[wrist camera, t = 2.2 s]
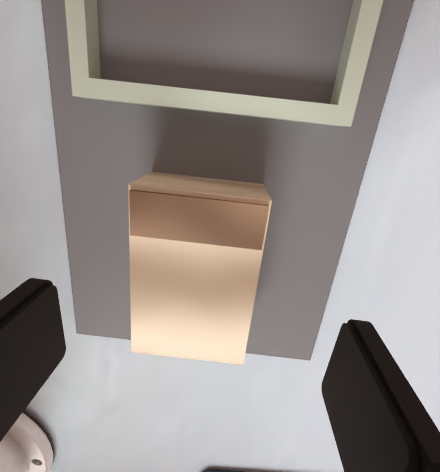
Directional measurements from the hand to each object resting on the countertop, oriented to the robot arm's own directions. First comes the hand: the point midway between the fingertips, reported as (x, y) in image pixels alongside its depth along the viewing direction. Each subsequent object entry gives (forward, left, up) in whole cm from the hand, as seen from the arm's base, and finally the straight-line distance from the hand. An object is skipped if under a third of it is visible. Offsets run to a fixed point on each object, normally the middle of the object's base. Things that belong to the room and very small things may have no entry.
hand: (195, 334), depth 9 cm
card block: (-1, 0, -8) cm, 8 cm away
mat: (+4, +3, -8) cm, 10 cm away
